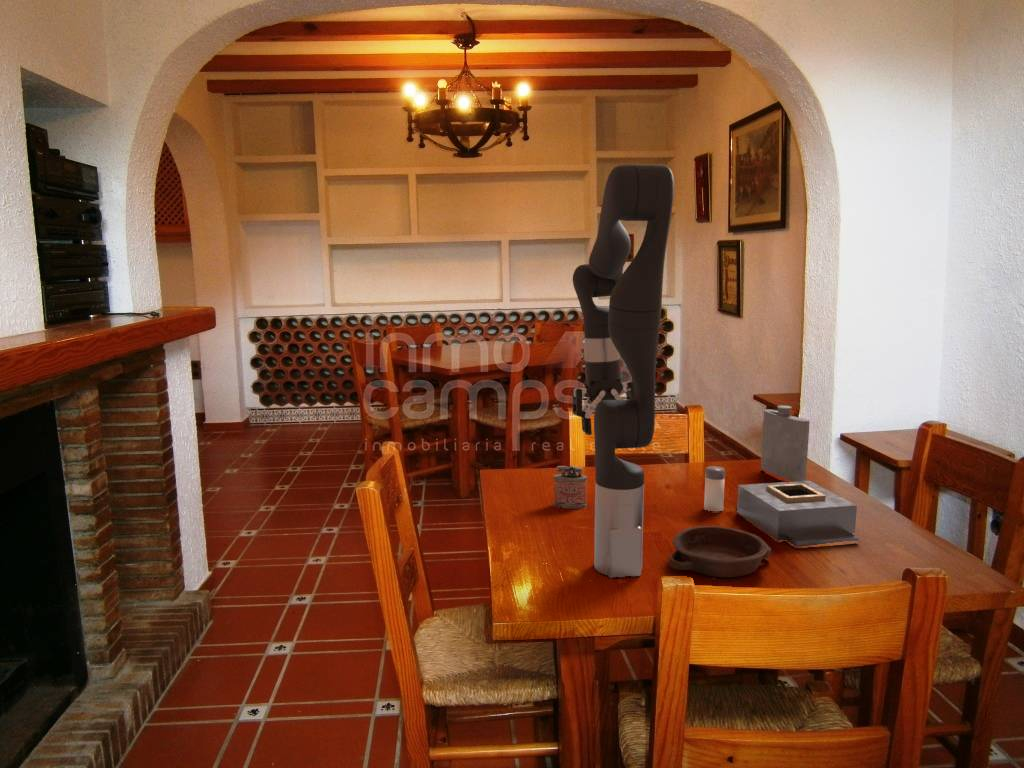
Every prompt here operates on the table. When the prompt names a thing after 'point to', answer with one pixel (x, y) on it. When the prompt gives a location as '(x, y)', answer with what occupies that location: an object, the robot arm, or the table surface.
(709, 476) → the salt shaker
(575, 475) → the lighter
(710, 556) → the dish
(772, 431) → the hip flask
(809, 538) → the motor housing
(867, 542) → the table surface
